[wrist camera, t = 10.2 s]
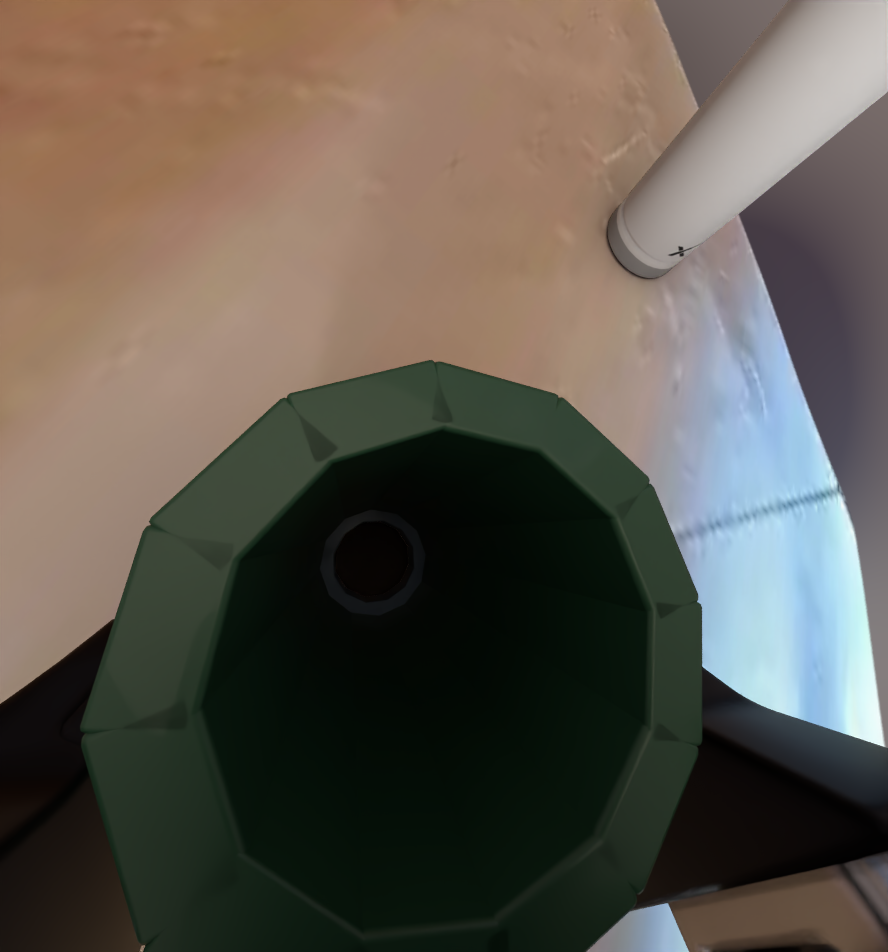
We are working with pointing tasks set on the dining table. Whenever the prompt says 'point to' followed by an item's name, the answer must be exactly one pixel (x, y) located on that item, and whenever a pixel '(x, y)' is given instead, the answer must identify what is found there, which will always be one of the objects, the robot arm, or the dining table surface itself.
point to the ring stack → (395, 594)
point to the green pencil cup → (399, 684)
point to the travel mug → (755, 128)
